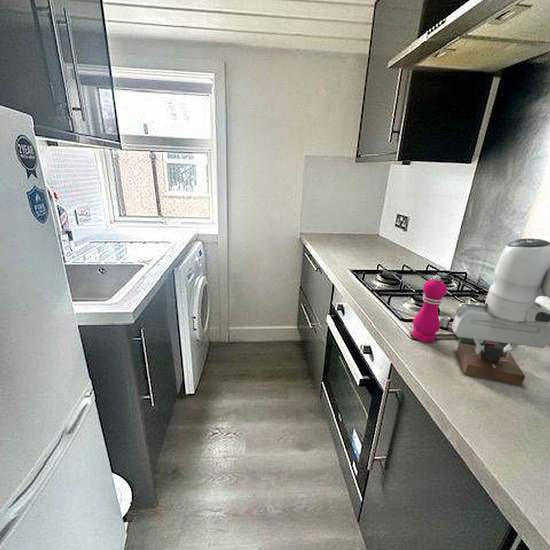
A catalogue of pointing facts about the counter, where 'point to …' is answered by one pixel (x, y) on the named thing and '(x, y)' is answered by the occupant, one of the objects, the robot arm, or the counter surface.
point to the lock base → (489, 366)
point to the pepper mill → (429, 311)
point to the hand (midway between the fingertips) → (490, 354)
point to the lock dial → (492, 351)
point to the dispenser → (471, 341)
